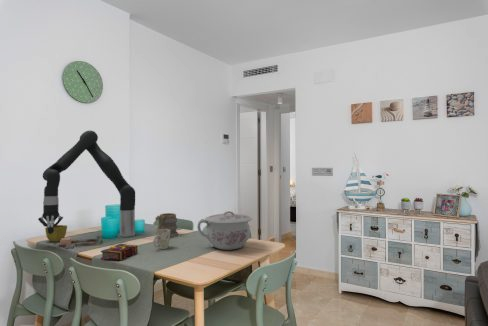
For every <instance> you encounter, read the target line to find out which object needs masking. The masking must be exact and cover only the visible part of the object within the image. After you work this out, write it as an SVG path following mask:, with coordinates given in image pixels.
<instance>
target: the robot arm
mask: <svg viewBox="0 0 488 326" xmlns="http://www.w3.org/2000/svg"><path fill="white" fill-rule="evenodd" d="M98 138H99V135H98V134H97V133H96V132H95V131H94V130H86V131H84V132H83V133H82V134H81V135H79V140H78V141H77V142H76V143H75V144H74V145H73V146H72V147H71V148H70V149H68V151H66V152H65V153H64V154H63V155H62V156H61V157H60V158H59V159H58V160H56V161H55V162H54V163H53V164H51V165H50V166H48V168H46V169H45V170H44V171H43V173H42V178H43V180H44V181H46V186H44V189H43V202H42V203H43V209H42V211H43V213H42V215H41V216H40V217H39V218H38V219H37V220H38V222H39V223H40V224H42V226H43V227H45V228H46V227H48V233H49V234H52V233H53V232H54V226H57V225H60V224H59V223H60V222H61V221H62V220H63V219H64V216H61V215H60V213H59V206H60V205H59V187H60V182H61V173H62V172H64V171H66V170H67V169H69V168H70V167H71V165H73V164H74V163H75V161H76V160H77V159H78V158H79V157H80V156H81V154H83V153H84V152H85V151H87V152H88V153H89V154H90V156H91V158H93V160H94V161H95V163H96V164H97V166H98V167H99V169H100V170H101V171H102V173H103V174H104V176H106V178H108V179H109V180H110V181H111V183H112V184H113V185H114V187H115V188H116V189H117V191H118V193H119V196H120V197H119V199H120V200H119V203H120V204H119V237H123V238H127V237H129V238H130V237H135V236H136V219H135V218H136V215H135V214H136V213H135V212H136V211H135V207H136V190H135V188H134V187H133V186H132V185H130V184H129V183H128V181H127V180H126V179H125V178H124V176H123V175H122V173H121V170H120V169H119V167H118V166H117V164H116V163H115V161H114V160H113V158H112V157H111V156H109V154H108V153H106V152H105V151H103V150H102V149H101V147H100V145H98V143H97V142H98ZM56 220H57V221H56Z"/></svg>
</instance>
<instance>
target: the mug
mask: <svg viewBox="0 0 488 326" xmlns="http://www.w3.org/2000/svg"><path fill="white" fill-rule="evenodd" d="M170 238H171V237H170V230H169V229H159V230H158V229H155V236H154V239H153V247H155V248H157V249H158V250H167V249H169V245H170Z"/></svg>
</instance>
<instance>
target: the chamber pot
mask: <svg viewBox="0 0 488 326" xmlns="http://www.w3.org/2000/svg"><path fill="white" fill-rule="evenodd" d="M252 220H253V217H251V216H250V215H246V214H241V213H234V212H233V211H224V212H223V213H219V214H218V213H217V214H213V215H208V216H206V217H205V218H201V219H200V220H199V221H198V223H197V227H196V228H197V231H198V232H199V234H200V235H202V236H203V237H204V238H206V239H207V240H208V241H209V243H210V244H212V247H214V248H216V249H218V250H222V251H233V250H234V251H235V250H238V249H241V248H243V247H244V246H245V245H246V243H247V241H248V240H249V236H250V232H251V226H250V224H249V222H250V221H252ZM203 223H204V224H206V229H207V231H206V232H207V234H206V233H204V232H203V230H202V229H201V224H203Z"/></svg>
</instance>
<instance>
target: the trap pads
mask: <svg viewBox="0 0 488 326" xmlns="http://www.w3.org/2000/svg"><path fill="white" fill-rule="evenodd" d="M78 240H79V242H78V243H87V241H86V240H87V239H78ZM69 248H72V249H74V248H75V245H70V246H66V247H64V250H68V249H69ZM69 250H70V249H69Z"/></svg>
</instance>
